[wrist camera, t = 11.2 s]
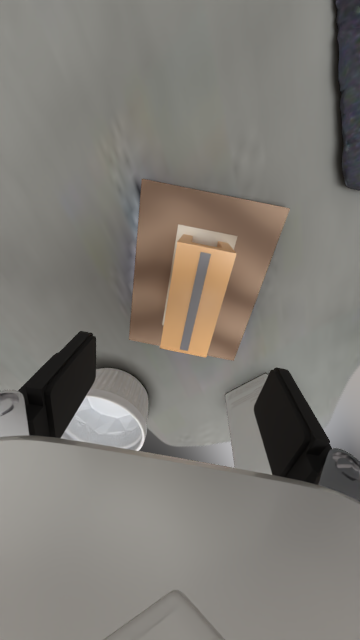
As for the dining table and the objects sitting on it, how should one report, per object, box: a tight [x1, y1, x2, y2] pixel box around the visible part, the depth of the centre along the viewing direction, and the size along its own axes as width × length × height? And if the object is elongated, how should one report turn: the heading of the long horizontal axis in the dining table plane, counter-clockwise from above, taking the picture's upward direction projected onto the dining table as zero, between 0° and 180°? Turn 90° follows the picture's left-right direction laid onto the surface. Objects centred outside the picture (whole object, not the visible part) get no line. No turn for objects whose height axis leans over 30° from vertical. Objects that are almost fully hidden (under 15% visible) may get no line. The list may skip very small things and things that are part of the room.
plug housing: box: [160, 234, 237, 357], centre depth 21 cm, size 10×5×6 cm, turn 170°
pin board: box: [129, 179, 290, 361], centre depth 23 cm, size 18×14×4 cm
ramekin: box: [61, 368, 149, 451], centre depth 32 cm, size 13×13×7 cm
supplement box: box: [225, 374, 272, 475], centre depth 27 cm, size 7×7×13 cm
